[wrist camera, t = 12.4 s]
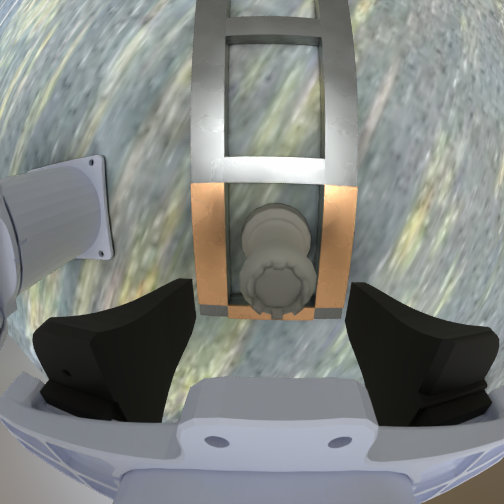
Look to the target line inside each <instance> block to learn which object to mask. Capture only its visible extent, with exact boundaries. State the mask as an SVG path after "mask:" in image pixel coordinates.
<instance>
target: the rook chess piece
mask: <svg viewBox="0 0 504 504" xmlns="http://www.w3.org/2000/svg"><path fill="white" fill-rule="evenodd" d="M310 244H311V234H310V230H309V227H308V224H307V222H306V219H305V218H304V217H303V216H302V215H301V214H300V213H299V212H298V211H297V210H296V209H294V208H292V207H289V206H287V205H285V204H267V205H265V206H262V207H260V208H257V209H256V210H255V211H254V212H253V213H252V214H251V215H250V216H249V217H248V218H247V219H246V221H245V224H244V226H243V229H242V234H241V246H242V250H243V252H244V254H245V257H246V260H245V262H244V264H243V266H242V269H241V271H240V273H239V288H240V290H241V292H242V294H243V296H244V298H245V300H246V301H247V302H248V303H249V304H250V305H251V308H252V309H253V310H254V311H255V312H256V313H258V314H259V315H261V313H262V312H264V313H267V314H269V315H271V320H283V315H285V314H288V313H291V312H292V313H293V314H294V316H295V315H296V314H298V313H299V312H300V311H302V310H303V309H304V307H303V305H305V304H306V303H307V302H308V301H309V300H310V298H311V296H312V294H313V292H314V291H315V287H316V277H317V275H316V272H315V270H314V267H313V264H312V262H311V261H310V260H309V259H308V258H307V257H306V256H307V254H308V252H309V250H310Z"/></svg>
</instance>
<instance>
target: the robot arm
mask: <svg viewBox="0 0 504 504" xmlns="http://www.w3.org/2000/svg"><path fill="white" fill-rule="evenodd" d="M92 160H94V164H93V165H92ZM101 251H102V252H103V253H104V255H102V253H101ZM112 257H113V247H112V240H111V233H110V225H109V217H108V208H107V197H106V184H105V166H104V158H103V156H102V155H94V156H89V157H84V158H79V159H74V160H69V161H65V162H61V163H56V164H52V165H48V166H44V167H41V168H37V169H33V170H30V171H28V172H27V173H23V174H18V175H14V176H9V177H5V178H0V349H1V348H2V346H3V345H4V342H5V340H6V337H7V334H8V322H7V319H6V318H7V317H8V316H9V315H11V314H12V313H13V312H14V311H16V310H17V304H16V297H17V296H18V295H20V294H21V293H23V292H24V291H25V290H27V289H28V288H30V287H31V286H33V285H34V284H36V283H37V282H38V281H40V280H41V279H43V278H44V277H46V276H47V275H49V274H50V273H52V272H53V271H55V270H57V269H58V268H60V267H61V266H63V265H64V264H66V263H67V262H69V261H71V260H72V259H74V258H77V259H97V260H109V259H111V258H112ZM195 320H196V311H195V302H194V293H193V283H192V279H183V278H179V279H176V280H174V281H172V282H170V283H168V284H166V285H164V286H162V287H160V288H158V289H156V290H155V291H153V292H151V293H149V294H147V295H145V296H142V297H140V298H138V299H136V300H134V301H132V302H129V303H127V304H124V305H121V306H118V307H115V308H112V309H108V310H104V311H100V312H96V313H91V314H86V315H79V316H69V317H50V318H49V319H48V320H46V321H45V322H44V323H43V324H42V325H41V326H40V327H39V328H38V329H37V330H36V331H35V332H34V334H33V339H32V340H33V346H34V350H35V352H36V355H37V357H38V359H39V361H40V363H41V365H42V367H43V369H44V371H45V373H46V374H47V376H48V378H49V380H48V382H47V383H46V384H44V383H43V382H42V381H41V380H40V379H38V378H36V377H34V376H32V375H30V374H28V373H26V372H22V373H21V374H20V375H19V376H18V377H17V378H16V379H15V381H14V382H13V383H12V384H11V385H10V386H9V388H8V389H7V390H6V391H5V392H4V393H3V395H2V396H1V397H0V420H1V422H2V423H3V424H4V425H5V427H6V428H7V429H8V430H9V431H10V433H11V434H12V435H13V436H14V437H15V438H16V439H17V440H18V442H19V443H20V444H21V445H22V446H23V447H24V448H25V449H27V450H28V451H29V452H31V453H32V454H34V455H35V456H37V457H38V458H40V459H41V460H43V461H44V462H46V463H48V464H49V465H51V466H52V467H54V468H55V469H57V470H59V471H60V472H62V473H64V474H65V475H67V476H69V477H70V478H72V479H74V480H76V481H78V482H79V483H81V484H83V485H85V486H86V487H88V488H90V489H92V490H94V491H96V492H98V493H100V494H102V495H104V496H106V497H109V498H111V499H113V500H114V501H113V504H420V503H422V502H425V501H427V500H429V499H432V498H434V497H436V496H438V495H440V494H442V493H444V492H446V491H448V490H450V489H452V488H454V487H456V486H458V485H460V484H461V483H463V482H465V481H467V480H468V479H470V478H472V477H474V476H476V475H477V474H479V473H481V472H482V471H484V470H486V469H487V468H489V467H491V466H492V465H494V464H495V463H497V462H498V461H500V460H501V459H502V458H503V457H504V385H503V386H501V387H499V388H497V389H495V390H493V391H491V392H490V393H489V394H488V395H487V393H486V392H485V390H484V389H486V387H487V383H486V381H485V380H484V378H485V376H486V375H487V373H488V371H489V369H490V367H491V366H492V364H493V362H494V360H495V358H496V356H497V353H498V349H499V338H498V336H497V335H496V334H495V333H494V332H493V331H492V330H491V328H489V327H483V326H472V325H465V324H459V323H454V322H450V321H446V320H442V319H439V318H436V317H433V316H430V315H427V314H425V313H422V312H420V311H417V310H415V309H413V308H411V307H409V306H407V305H405V304H403V303H401V302H399V301H397V300H395V299H394V298H392V297H390V296H388V295H387V294H385V293H383V292H382V291H380V290H378V289H377V288H375V287H373V286H371V285H369V284H367V283H364V282H352V283H351V290H350V296H349V301H348V307H347V312H346V318H345V324H346V328H347V333H348V337H349V340H350V343H351V345H352V348H353V351H354V353H355V356H356V359H357V361H358V364H359V367H360V369H361V372H362V375H363V378H364V382H365V387H366V388H365V387H363V386H362V385H361V384H360V383H359V382H358V381H356V380H352V379H344V378H336V377H328V378H250V377H233V376H225V377H215V378H204V379H203V380H201V381H200V382H198V383H197V384H195V385H194V386H192V387H190V390H189V393H188V396H187V399H186V402H185V405H184V408H183V411H182V414H181V417H180V420H179V423H161V422H162V417H163V413H164V408H165V404H166V400H167V396H168V392H169V389H170V385H171V382H172V379H173V375H174V373H175V370H176V368H177V365H178V363H179V361H180V359H181V357H182V354H183V352H184V350H185V348H186V346H187V343H188V341H189V339H190V337H191V334H192V331H193V327H194V324H195Z"/></svg>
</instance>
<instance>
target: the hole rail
mask: <svg viewBox="0 0 504 504" xmlns="http://www.w3.org/2000/svg"><path fill="white" fill-rule="evenodd" d="M314 4H315V14H316V19H313V18H301V17H281V16H252V17H232V18H230V0H197V2H196V12H195V25H194V38H193V56H192V79H191V182H192V183H191V206H192V226H193V242H194V256H195V269H196V280H197V291H198V301H199V304H200V313H201V315H210V316H227V317H228V318H235V319H259V320H271V315H269V314H267V313H264V312H262V313H261V315H259V314H258V313H256V312H255V311H254V310H253V309H252V308H251V305H250V304H249V303H248V302H247V301H246V300H245V298H244V296H243V294H231V272H230V237H229V185H228V182H264V183H302V184H320V193H319V214H318V230H317V244H316V257H315V268H314V270H315V272H316V275H317V277H316V287H315V291H314V292H313V294H312V296H311V298H310V300H309V301H308V302H307V303H306V304H305V305H303V307H304V309H303V310H302V311H300V312H299V313H298V314H296V315H295V316H294V314H293V313H292V312H291V313H288V314H285V315H283V320H313V319H338V318H341V314H342V308H344V302H345V296H346V290H347V283H348V277H349V269H350V262H351V254H352V246H353V237H354V227H355V216H356V203H357V188H358V187H357V166H358V100H357V79H356V65H355V53H354V43H353V35H352V27H351V19H350V13H349V6H348V0H314ZM257 43H275V44H300V45H313V46H318V51H319V70H320V99H321V159H314V158H293V157H228V73H229V45H232V44H257Z"/></svg>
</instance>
